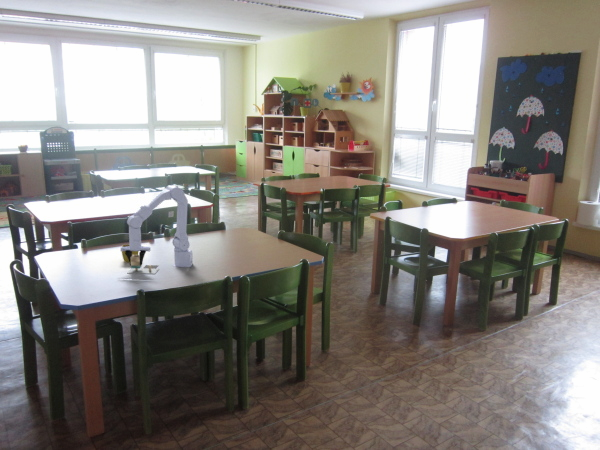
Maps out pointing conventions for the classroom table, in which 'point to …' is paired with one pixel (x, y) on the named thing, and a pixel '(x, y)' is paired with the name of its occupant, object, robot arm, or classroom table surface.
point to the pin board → (142, 270)
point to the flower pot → (125, 254)
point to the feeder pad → (151, 266)
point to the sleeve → (135, 261)
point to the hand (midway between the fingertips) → (136, 264)
